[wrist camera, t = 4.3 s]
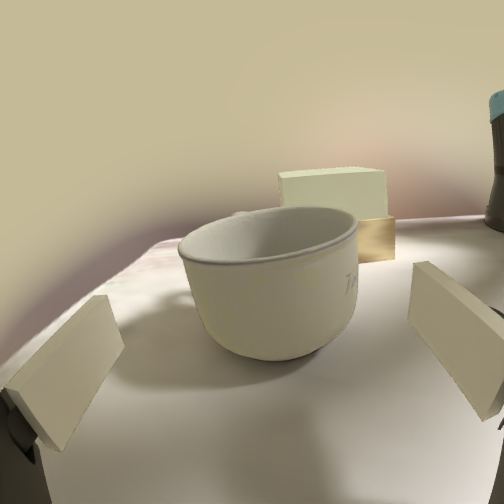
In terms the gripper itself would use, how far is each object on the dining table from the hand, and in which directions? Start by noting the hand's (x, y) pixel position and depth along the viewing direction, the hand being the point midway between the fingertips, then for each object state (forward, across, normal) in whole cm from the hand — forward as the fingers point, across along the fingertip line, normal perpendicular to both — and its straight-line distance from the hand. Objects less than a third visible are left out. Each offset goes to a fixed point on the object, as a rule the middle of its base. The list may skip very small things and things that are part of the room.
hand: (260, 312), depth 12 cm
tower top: (+25, +8, -1) cm, 26 cm away
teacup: (+9, 0, -6) cm, 11 cm away
